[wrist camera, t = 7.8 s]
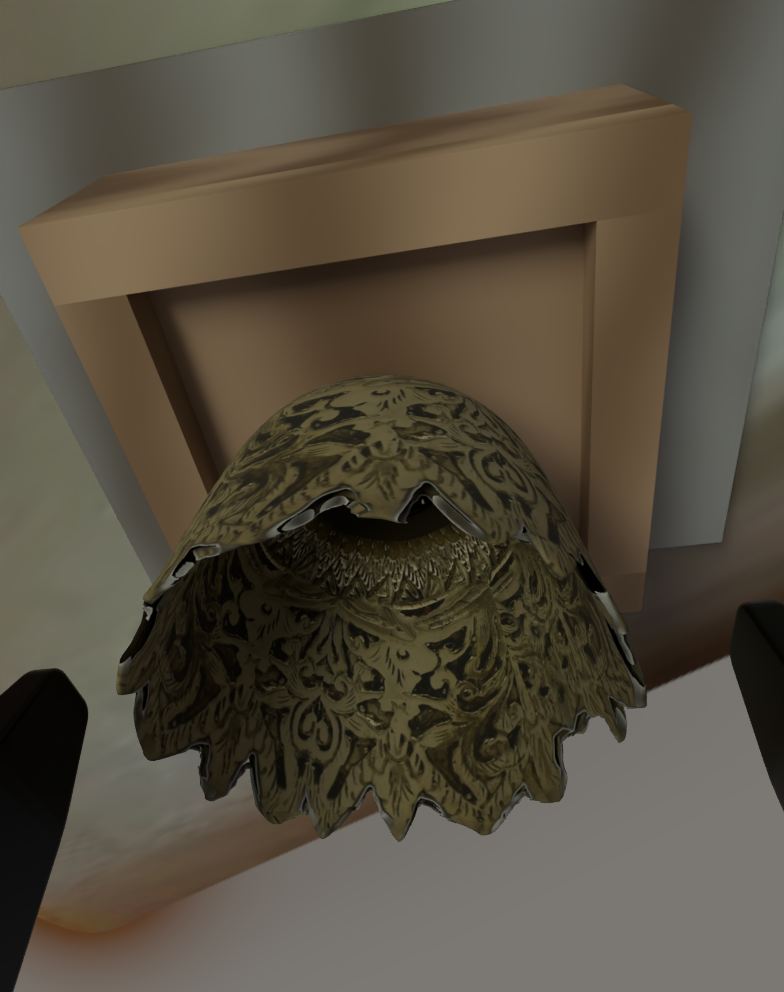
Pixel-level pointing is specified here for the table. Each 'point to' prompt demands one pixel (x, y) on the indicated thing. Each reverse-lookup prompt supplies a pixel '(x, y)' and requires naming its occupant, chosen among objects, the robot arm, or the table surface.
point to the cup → (380, 617)
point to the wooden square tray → (414, 247)
